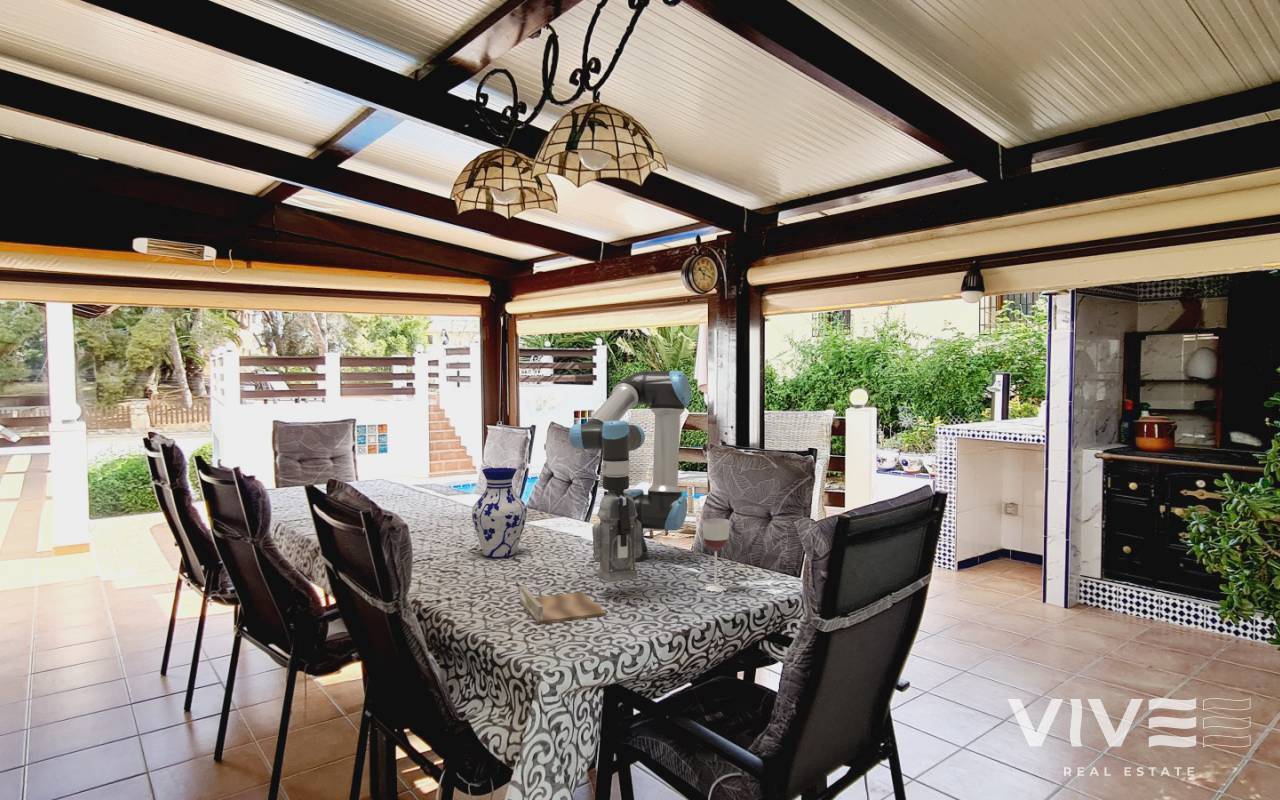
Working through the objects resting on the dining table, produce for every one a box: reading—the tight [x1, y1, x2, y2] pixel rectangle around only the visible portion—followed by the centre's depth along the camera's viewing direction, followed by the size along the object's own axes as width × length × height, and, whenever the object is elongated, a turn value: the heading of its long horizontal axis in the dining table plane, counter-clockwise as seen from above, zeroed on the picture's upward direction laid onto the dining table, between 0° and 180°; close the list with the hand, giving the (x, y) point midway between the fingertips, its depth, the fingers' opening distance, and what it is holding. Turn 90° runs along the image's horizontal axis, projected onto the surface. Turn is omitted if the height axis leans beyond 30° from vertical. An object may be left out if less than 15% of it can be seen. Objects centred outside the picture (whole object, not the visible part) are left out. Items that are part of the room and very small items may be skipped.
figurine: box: [591, 492, 642, 583], centre depth 206 cm, size 10×14×25 cm
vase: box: [471, 467, 528, 559], centre depth 253 cm, size 19×19×30 cm
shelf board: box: [519, 585, 607, 625], centre depth 192 cm, size 18×20×4 cm
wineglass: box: [701, 517, 730, 593], centre depth 211 cm, size 8×9×20 cm
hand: (616, 553), depth 206 cm, fingers closed on figurine, 9 cm apart
